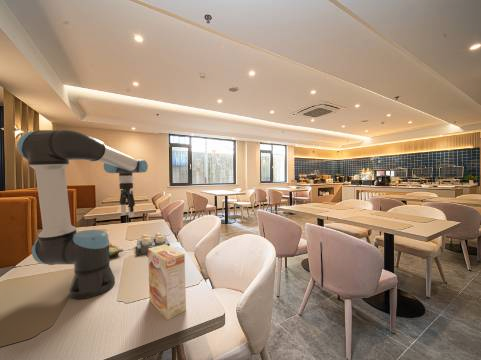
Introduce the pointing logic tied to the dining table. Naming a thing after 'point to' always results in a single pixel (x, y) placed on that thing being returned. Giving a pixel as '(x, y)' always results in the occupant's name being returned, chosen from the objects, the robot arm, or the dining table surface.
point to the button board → (153, 244)
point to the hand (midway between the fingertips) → (127, 215)
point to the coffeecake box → (167, 280)
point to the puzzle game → (114, 250)
